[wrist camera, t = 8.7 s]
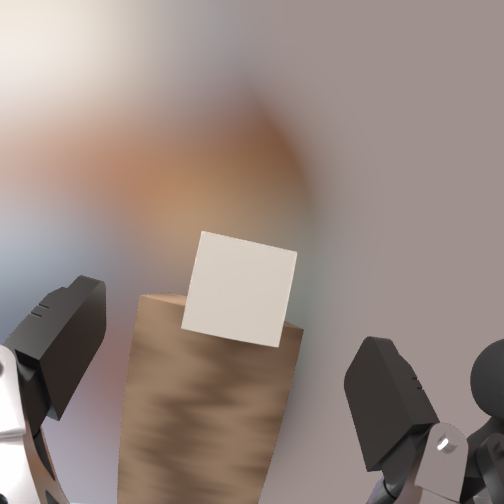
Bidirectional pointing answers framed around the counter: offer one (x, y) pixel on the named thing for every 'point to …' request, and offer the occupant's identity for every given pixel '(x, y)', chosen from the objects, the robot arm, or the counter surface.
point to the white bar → (239, 290)
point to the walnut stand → (199, 410)
